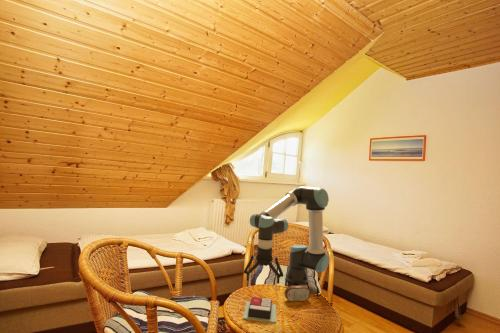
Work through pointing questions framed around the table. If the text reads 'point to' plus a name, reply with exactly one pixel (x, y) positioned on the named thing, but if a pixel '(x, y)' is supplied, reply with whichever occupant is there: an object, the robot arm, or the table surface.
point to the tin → (297, 293)
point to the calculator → (260, 308)
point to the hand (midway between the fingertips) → (262, 288)
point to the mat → (271, 320)
